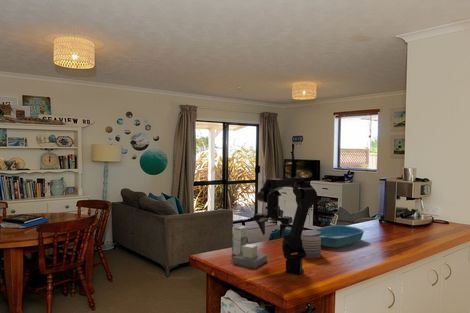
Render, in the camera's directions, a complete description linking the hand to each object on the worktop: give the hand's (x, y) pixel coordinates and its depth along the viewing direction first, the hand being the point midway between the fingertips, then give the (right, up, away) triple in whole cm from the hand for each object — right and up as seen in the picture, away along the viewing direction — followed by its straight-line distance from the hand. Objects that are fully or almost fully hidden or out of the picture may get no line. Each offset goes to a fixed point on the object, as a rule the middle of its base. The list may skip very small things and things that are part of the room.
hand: (272, 236), depth 173 cm
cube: (-11, -9, -3) cm, 14 cm away
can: (+20, -12, +11) cm, 26 cm away
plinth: (-11, -12, -3) cm, 16 cm away
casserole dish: (+42, -12, +38) cm, 58 cm away
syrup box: (-16, -12, +11) cm, 23 cm away
